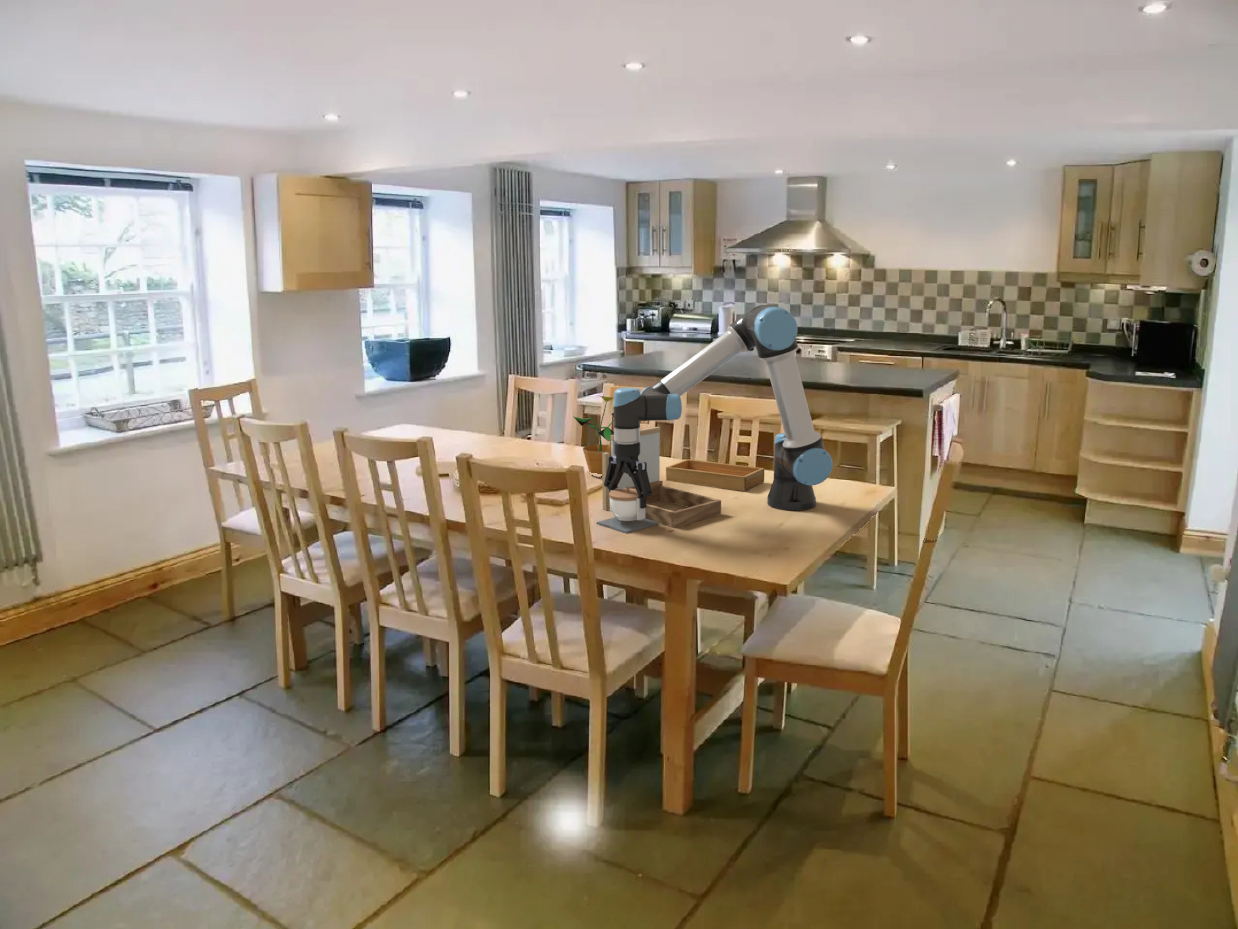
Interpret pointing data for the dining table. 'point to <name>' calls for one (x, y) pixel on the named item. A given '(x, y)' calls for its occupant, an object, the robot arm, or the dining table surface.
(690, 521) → the dark wooden box
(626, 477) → the white upright flat panel
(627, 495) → the lidded jar
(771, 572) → the dining table surface
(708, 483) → the tray
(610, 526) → the slate mat
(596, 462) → the potted plant
